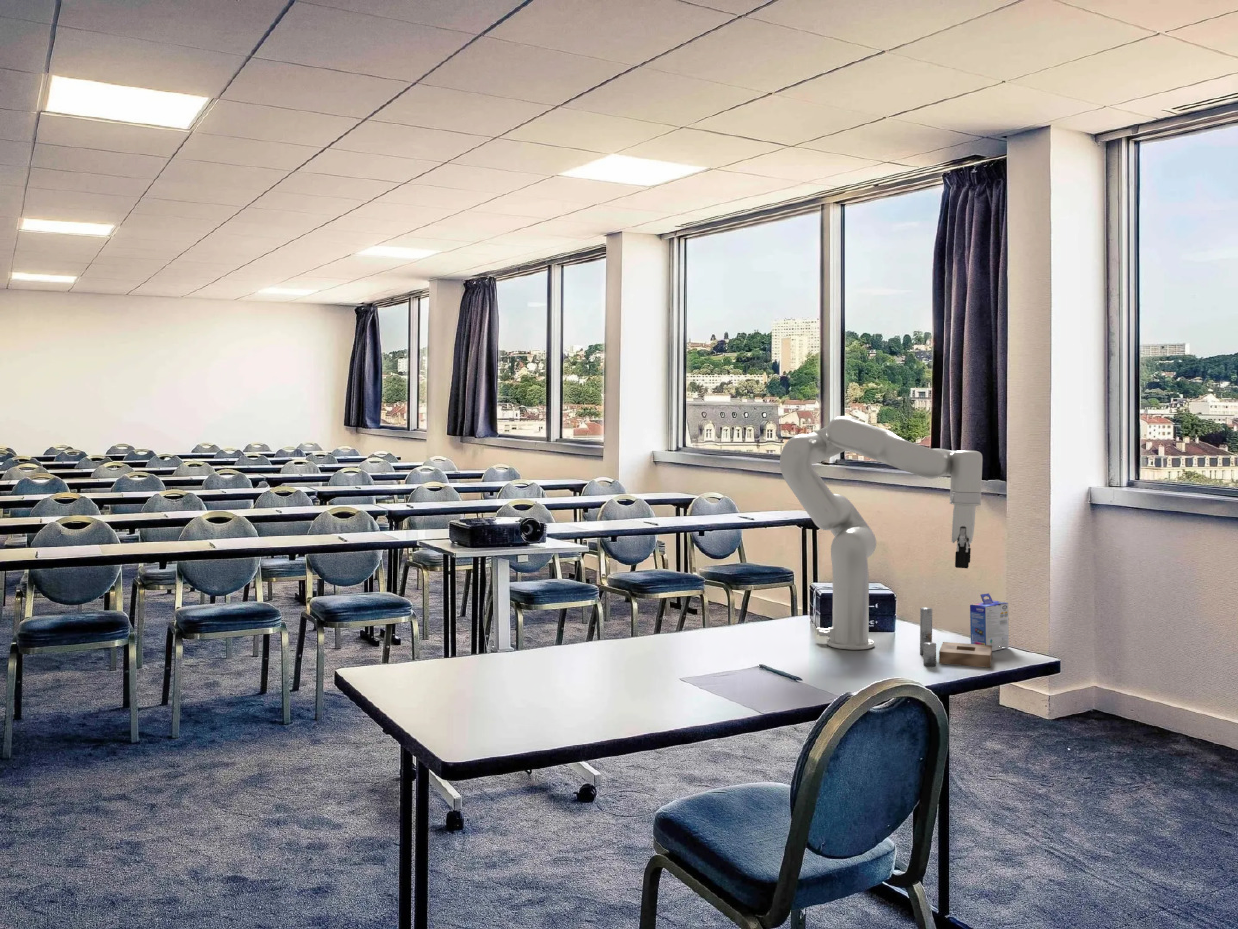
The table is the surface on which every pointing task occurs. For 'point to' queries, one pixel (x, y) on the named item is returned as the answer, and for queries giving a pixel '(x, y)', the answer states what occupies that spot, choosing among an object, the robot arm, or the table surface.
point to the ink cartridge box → (989, 623)
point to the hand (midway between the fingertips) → (962, 565)
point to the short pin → (929, 654)
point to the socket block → (965, 654)
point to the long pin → (925, 627)
